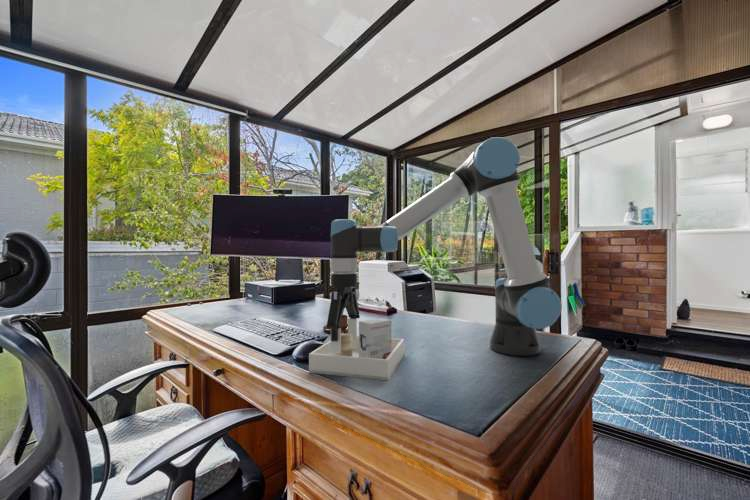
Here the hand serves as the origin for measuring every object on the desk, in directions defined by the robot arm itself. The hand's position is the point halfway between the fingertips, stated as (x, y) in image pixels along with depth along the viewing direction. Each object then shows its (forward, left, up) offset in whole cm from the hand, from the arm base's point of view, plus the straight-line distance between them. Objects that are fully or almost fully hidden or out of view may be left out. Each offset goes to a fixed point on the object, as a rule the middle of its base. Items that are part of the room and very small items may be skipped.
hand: (344, 345), depth 103 cm
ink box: (-9, +1, -4) cm, 10 cm away
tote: (-5, 0, -5) cm, 7 cm away
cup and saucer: (+16, -35, -5) cm, 39 cm away
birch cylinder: (0, 0, -4) cm, 4 cm away
